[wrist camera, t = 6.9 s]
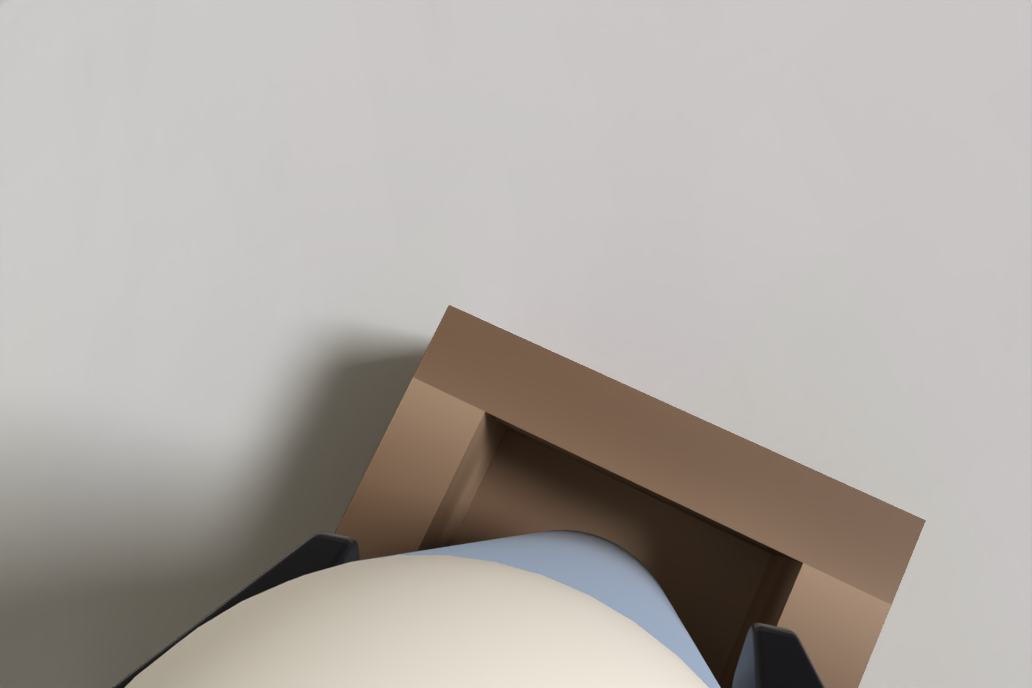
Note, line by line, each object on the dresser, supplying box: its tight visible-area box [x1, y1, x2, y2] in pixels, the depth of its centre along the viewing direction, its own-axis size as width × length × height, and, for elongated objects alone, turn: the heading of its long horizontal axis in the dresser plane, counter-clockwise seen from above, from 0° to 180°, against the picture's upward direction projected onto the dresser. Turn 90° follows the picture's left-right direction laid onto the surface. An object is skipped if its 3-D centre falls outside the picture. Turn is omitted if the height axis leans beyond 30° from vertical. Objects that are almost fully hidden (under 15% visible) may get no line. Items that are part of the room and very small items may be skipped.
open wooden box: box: [335, 305, 926, 688], centre depth 16 cm, size 9×9×4 cm
